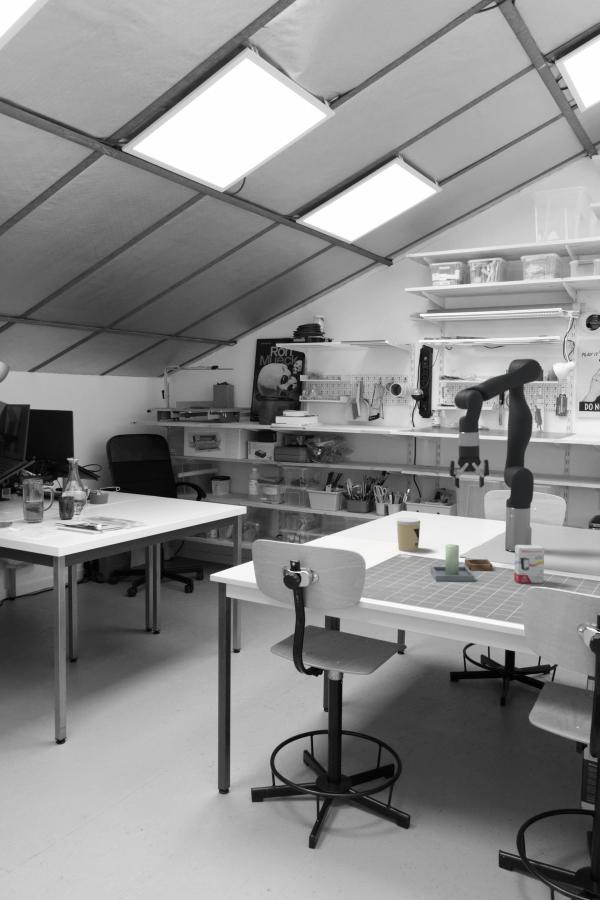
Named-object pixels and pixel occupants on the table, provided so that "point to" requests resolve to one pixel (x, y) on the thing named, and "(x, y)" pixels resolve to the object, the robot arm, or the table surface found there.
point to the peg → (452, 560)
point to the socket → (478, 564)
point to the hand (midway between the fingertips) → (469, 487)
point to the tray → (440, 575)
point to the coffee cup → (408, 534)
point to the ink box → (529, 564)
